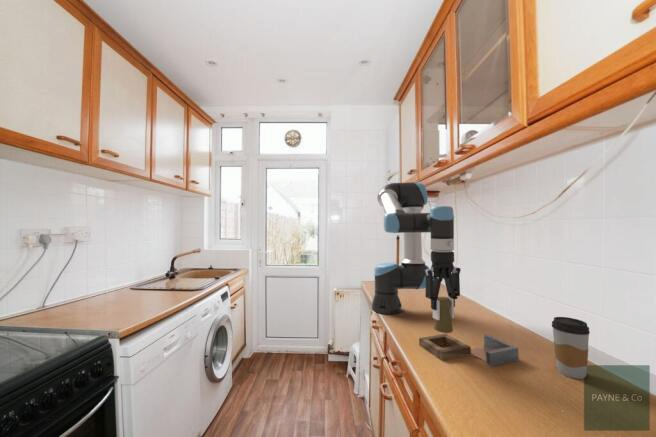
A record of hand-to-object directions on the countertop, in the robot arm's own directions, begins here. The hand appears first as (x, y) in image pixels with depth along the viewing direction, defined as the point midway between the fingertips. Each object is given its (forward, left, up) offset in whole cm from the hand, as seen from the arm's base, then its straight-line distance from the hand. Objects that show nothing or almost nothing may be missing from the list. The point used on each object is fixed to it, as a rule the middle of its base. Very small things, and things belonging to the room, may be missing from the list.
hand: (443, 317), depth 95 cm
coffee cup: (+24, +24, -11) cm, 36 cm away
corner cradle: (+8, +11, -11) cm, 17 cm away
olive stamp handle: (0, 0, -4) cm, 4 cm away
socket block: (0, 0, -11) cm, 11 cm away
